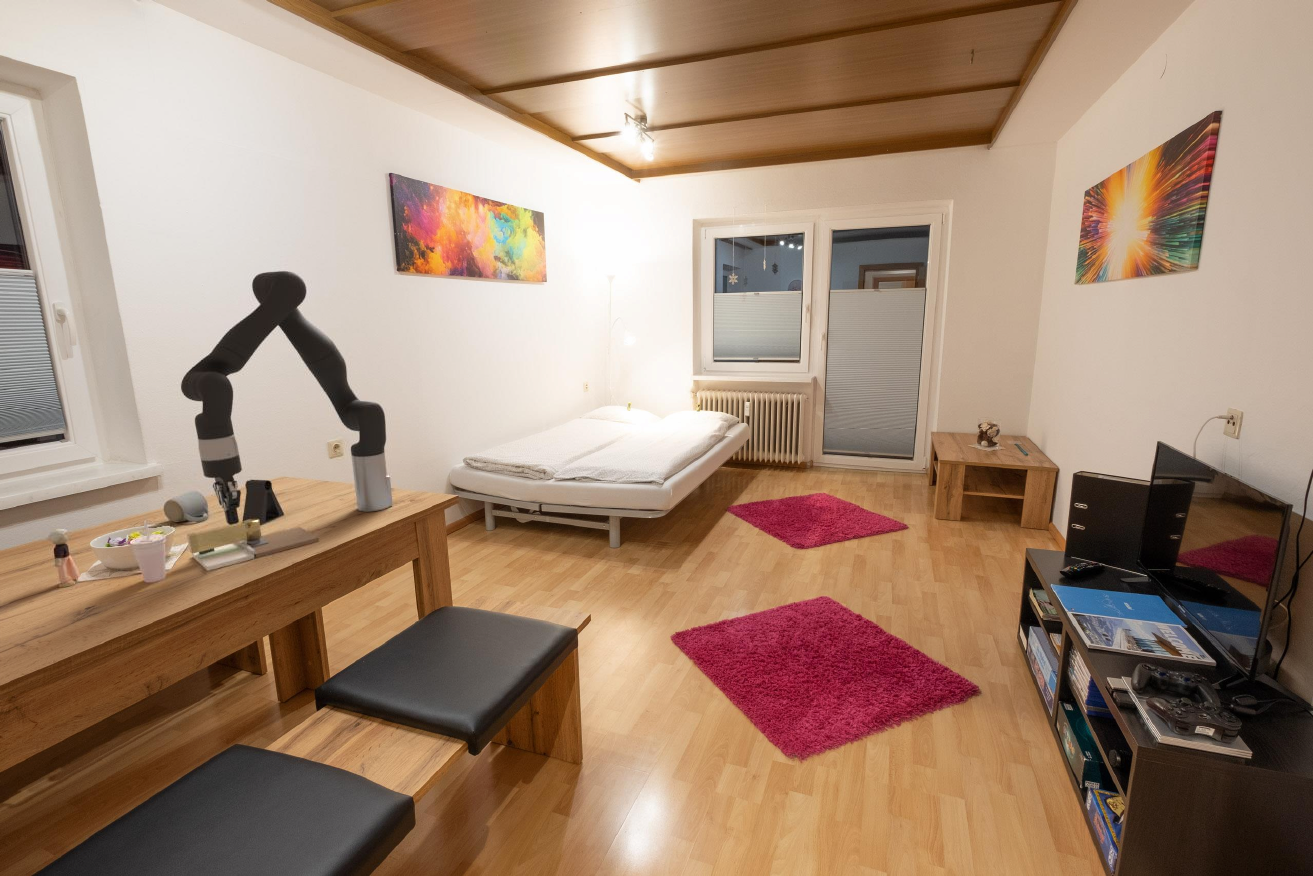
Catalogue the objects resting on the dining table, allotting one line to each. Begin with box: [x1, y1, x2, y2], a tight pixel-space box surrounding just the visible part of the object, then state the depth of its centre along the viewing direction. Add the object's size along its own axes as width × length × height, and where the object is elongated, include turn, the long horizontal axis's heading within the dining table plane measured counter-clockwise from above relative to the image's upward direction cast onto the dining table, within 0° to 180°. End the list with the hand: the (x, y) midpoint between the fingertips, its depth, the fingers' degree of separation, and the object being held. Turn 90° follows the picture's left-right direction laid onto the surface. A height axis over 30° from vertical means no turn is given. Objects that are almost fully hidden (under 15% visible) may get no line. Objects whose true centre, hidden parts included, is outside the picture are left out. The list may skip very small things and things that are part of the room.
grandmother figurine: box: [46, 528, 81, 588], centre depth 135 cm, size 8×4×13 cm, turn 44°
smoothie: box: [129, 520, 167, 583], centre depth 136 cm, size 6×6×14 cm
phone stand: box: [241, 479, 285, 526], centre depth 176 cm, size 9×6×12 cm, turn 171°
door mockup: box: [191, 526, 320, 571], centre depth 154 cm, size 24×13×4 cm, turn 139°
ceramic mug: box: [163, 490, 210, 523], centre depth 177 cm, size 11×8×8 cm
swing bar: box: [186, 519, 263, 554], centre depth 150 cm, size 15×4×5 cm, turn 140°
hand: (233, 523), depth 148 cm, fingers closed
